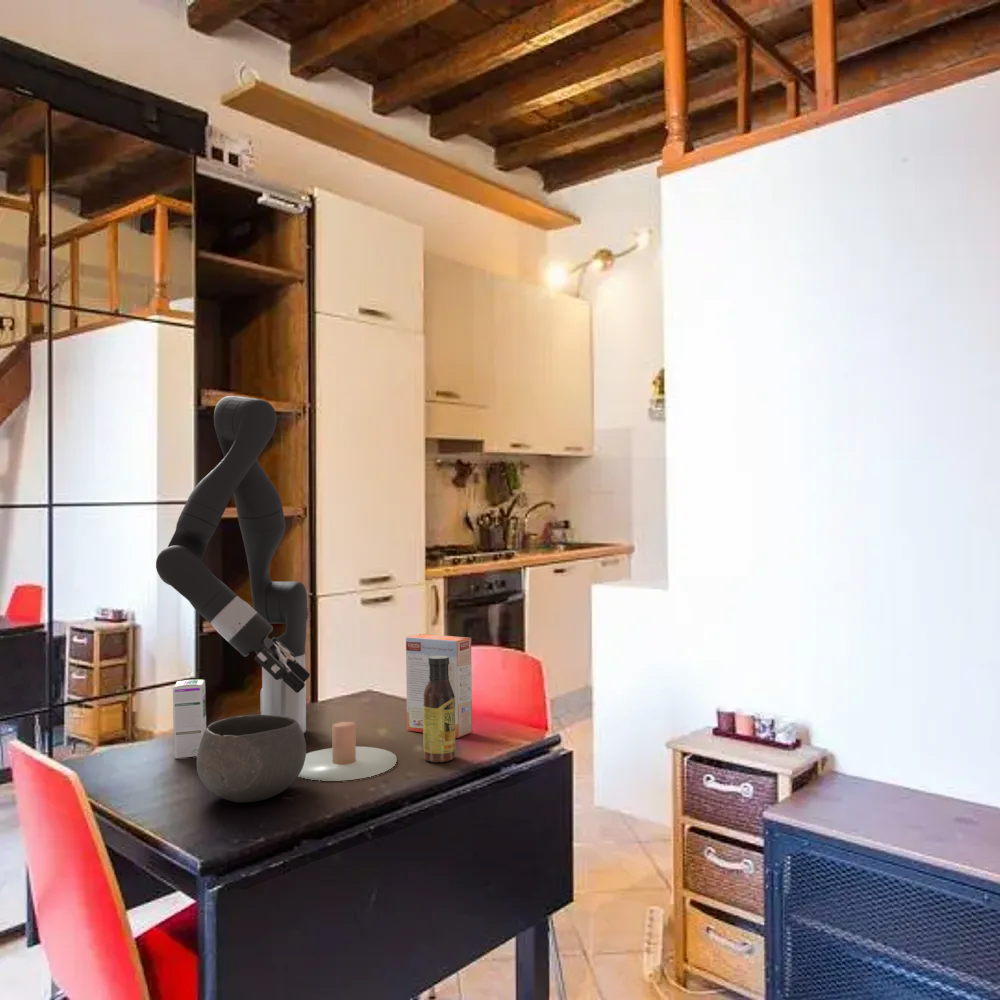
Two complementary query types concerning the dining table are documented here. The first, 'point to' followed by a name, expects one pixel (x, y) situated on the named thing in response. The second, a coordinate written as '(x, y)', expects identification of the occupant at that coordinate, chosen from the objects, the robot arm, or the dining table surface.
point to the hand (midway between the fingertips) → (304, 683)
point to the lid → (346, 758)
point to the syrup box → (188, 716)
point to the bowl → (251, 756)
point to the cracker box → (458, 674)
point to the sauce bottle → (439, 713)
